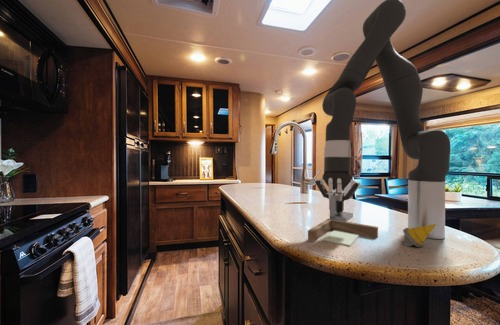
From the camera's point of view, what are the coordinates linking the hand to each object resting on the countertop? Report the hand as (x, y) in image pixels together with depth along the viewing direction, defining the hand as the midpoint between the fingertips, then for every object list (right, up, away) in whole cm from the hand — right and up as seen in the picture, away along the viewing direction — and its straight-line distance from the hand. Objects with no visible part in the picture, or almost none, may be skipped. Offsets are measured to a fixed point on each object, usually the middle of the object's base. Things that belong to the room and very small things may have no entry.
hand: (336, 212), depth 66 cm
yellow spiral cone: (+20, -8, -7) cm, 22 cm away
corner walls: (+2, -7, -2) cm, 8 cm away
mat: (+1, -7, -1) cm, 8 cm away
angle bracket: (+1, -2, -1) cm, 2 cm away
